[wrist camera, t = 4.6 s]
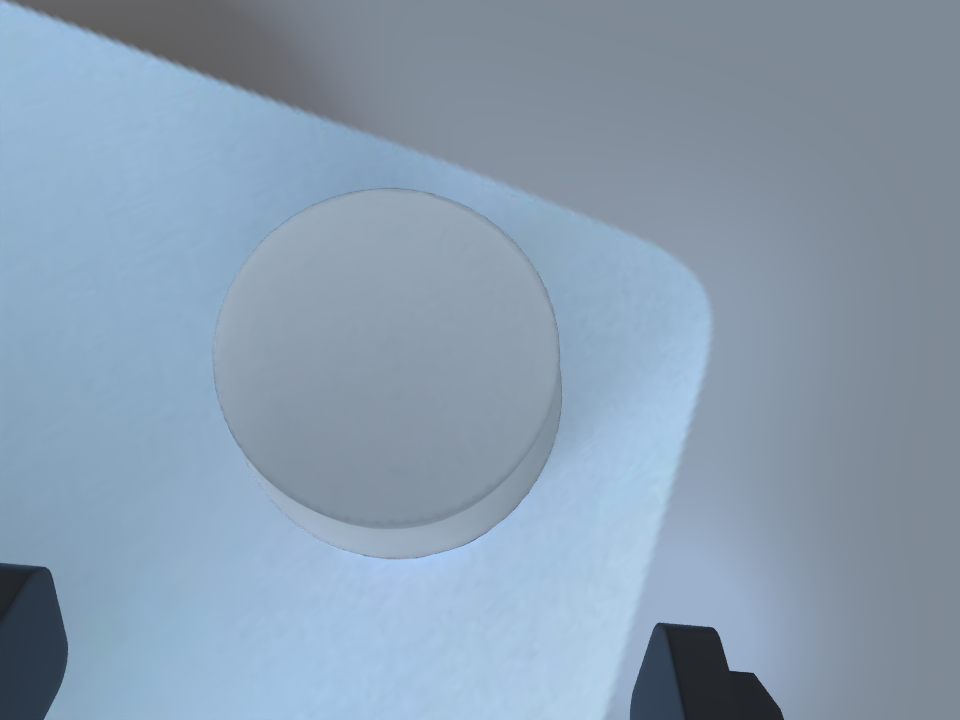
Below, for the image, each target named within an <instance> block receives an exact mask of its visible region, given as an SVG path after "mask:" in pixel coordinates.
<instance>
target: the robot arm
mask: <svg viewBox="0 0 960 720" xmlns="http://www.w3.org/2000/svg"><path fill="white" fill-rule="evenodd" d="M67 657H68V643H67V637H66V633H65V629H64V625H63V620H62V616H61V612H60V607H59V603H58V599H57V595H56V590H55V586H54V582H53V578H52V575H51V572H50V571H49V569H47V568H46V567H40V566H28V565H17V564H6V563H0V720H44V718H45V716H46V714H47V712H48V710H49V708H50V706H51V704H52V702H53V700H54V698H55V696H56V694H57V692H58V690H59V688H60V685H61V683H62V680H63V677H64V673H65V669H66V664H67ZM630 720H784V718H783V715H782V712H781V710H780V708H779V707H778V705H777V704H776V703H775V701H774V700H773V699H772V697H771V696H770V695H769V693H768V692H767V691H766V689H765V688H764V686H763V685H762V684H761V682H760V681H759V680H758V678H757V677H756V676H755V674H754V673H748V672H736V671H729V668H728V664H727V661H726V657H725V654H724V650H723V647H722V643H721V640H720V637H719V635H718V633H717V631H716V630H715V629H714V628H712V627H703V626H691V625H680V624H668V623H657V624H656V626H655V627H654V629H653V632H652V635H651V638H650V641H649V644H648V647H647V650H646V653H645V656H644V659H643V662H642V666H641V669H640V671H639V674H638V677H637V681H636V684H635V687H634V690H633V693H632V700H631V709H630Z"/></svg>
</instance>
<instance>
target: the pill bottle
mask: <svg viewBox="0 0 960 720" xmlns="http://www.w3.org/2000/svg"><path fill="white" fill-rule="evenodd" d="M559 363H560V350H559V338H558V330H557V324H556V319H555V315H554V311H553V307H552V304H551V301H550V298H549V296H548V293H547V290H546V288H545V287H544V285H543V282H542V280H541V277H540V276H539V274H538V273H537V271H536V270H535V268H534V266H533V265H532V263H531V262H530V260H529V259H528V258H527V256H526V255H525V254H524V252H523V251H522V250H521V249H520V248H519V246H518V245H517V244H516V243H515V242H514V241H513V240H512V239H511V238H510V237H509V236H508V235H507V234H506V233H504V232H503V231H502V230H501V229H500V228H499V227H498V226H496V225H495V224H494V223H492V222H491V221H490V220H488V219H487V218H485V217H484V216H482V215H480V214H479V213H477V212H475V211H474V210H472V209H470V208H468V207H466V206H464V205H462V204H459V203H457V202H454V201H452V200H450V199H447V198H443V197H440V196H437V195H434V194H432V193H426V192H420V191H414V190H407V189H397V188H390V189H370V190H362V191H356V192H350V193H347V194H343V195H339V196H336V197H333V198H330V199H327V200H325V201H322V202H319V203H317V204H314V205H312V206H310V207H308V208H306V209H304V210H302V211H301V212H299V213H297V214H296V215H294V216H292V217H291V218H289V219H288V220H286V221H285V222H284V223H282V224H281V225H280V226H278V227H277V228H276V229H274V230H273V231H272V232H271V233H270V234H269V235H268V236H267V237H266V238H265V239H264V240H262V241H261V242H260V243H259V245H258V246H257V247H256V248H255V249H254V250H253V252H252V253H251V254H250V255H249V257H248V258H247V259H246V260H245V262H244V263H243V264H242V266H241V267H240V269H239V271H238V273H237V274H236V276H235V278H234V280H233V282H232V283H231V285H230V287H229V289H228V291H227V294H226V296H225V298H224V301H223V303H222V306H221V309H220V312H219V316H218V319H217V324H216V330H215V337H214V350H213V368H214V379H215V386H216V392H217V396H218V399H219V403H220V406H221V410H222V413H223V415H224V418H225V420H226V422H227V424H228V427H229V429H230V431H231V433H232V435H233V437H234V439H235V441H236V443H237V444H238V446H239V447H240V449H241V450H242V453H243V455H244V458H245V460H246V463H247V465H248V467H249V469H250V471H251V473H252V475H253V476H254V478H255V479H256V481H257V483H258V484H259V486H260V487H261V489H262V490H263V491H264V493H265V494H266V495H267V496H268V498H269V499H270V500H271V502H272V503H273V504H274V505H275V506H276V507H277V508H278V509H279V510H280V511H281V512H282V513H283V514H284V515H285V516H286V517H287V518H288V519H290V520H291V521H292V522H293V523H295V524H296V525H297V526H299V527H300V528H301V529H303V530H304V531H306V532H308V533H309V534H311V535H312V536H314V537H315V538H318V539H320V540H322V541H324V542H326V543H328V544H330V545H333V546H335V547H338V548H340V549H343V550H347V551H350V552H354V553H358V554H361V555H364V556H371V557H377V558H386V559H408V558H420V557H425V556H429V555H433V554H437V553H441V552H444V551H448V550H451V549H455V548H458V547H461V546H463V545H466V544H468V543H470V542H472V541H473V540H475V539H477V538H479V537H480V536H482V535H483V534H485V533H487V532H488V531H489V530H491V529H492V528H493V527H494V526H496V525H497V524H498V523H500V522H501V521H502V520H504V519H505V518H506V517H507V516H508V515H509V514H510V513H511V512H512V511H513V510H514V509H515V508H516V507H517V506H518V505H519V503H520V502H521V501H522V500H523V498H524V497H525V496H526V495H527V494H528V493H529V491H530V490H531V488H532V486H533V485H534V483H535V482H536V480H537V478H538V477H539V475H540V473H541V471H542V470H543V468H544V466H545V464H546V462H547V459H548V457H549V455H550V453H551V450H552V447H553V445H554V441H555V437H556V434H557V430H558V426H559V420H560V414H561V404H562V386H561V373H560V366H559Z"/></svg>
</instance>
